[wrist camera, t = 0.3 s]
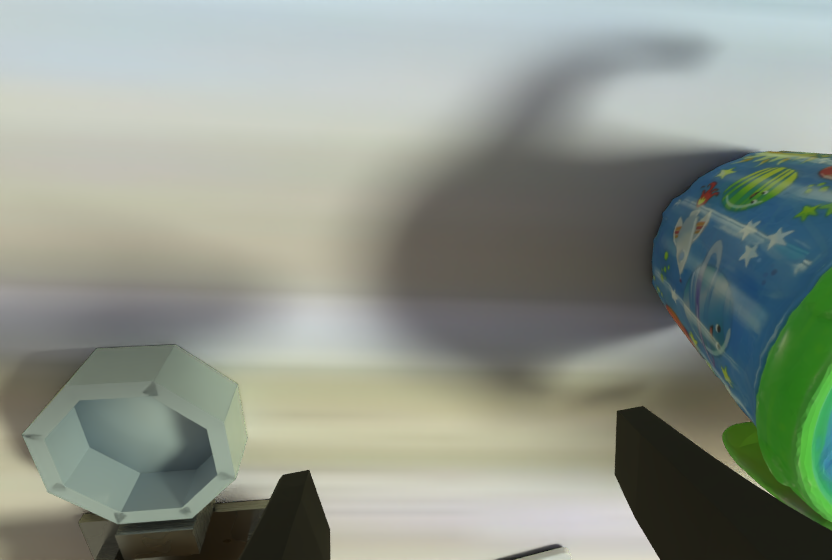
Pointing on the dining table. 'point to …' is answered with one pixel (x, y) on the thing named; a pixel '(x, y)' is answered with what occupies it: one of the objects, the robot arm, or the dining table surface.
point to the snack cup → (761, 311)
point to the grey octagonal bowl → (140, 435)
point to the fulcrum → (176, 534)
